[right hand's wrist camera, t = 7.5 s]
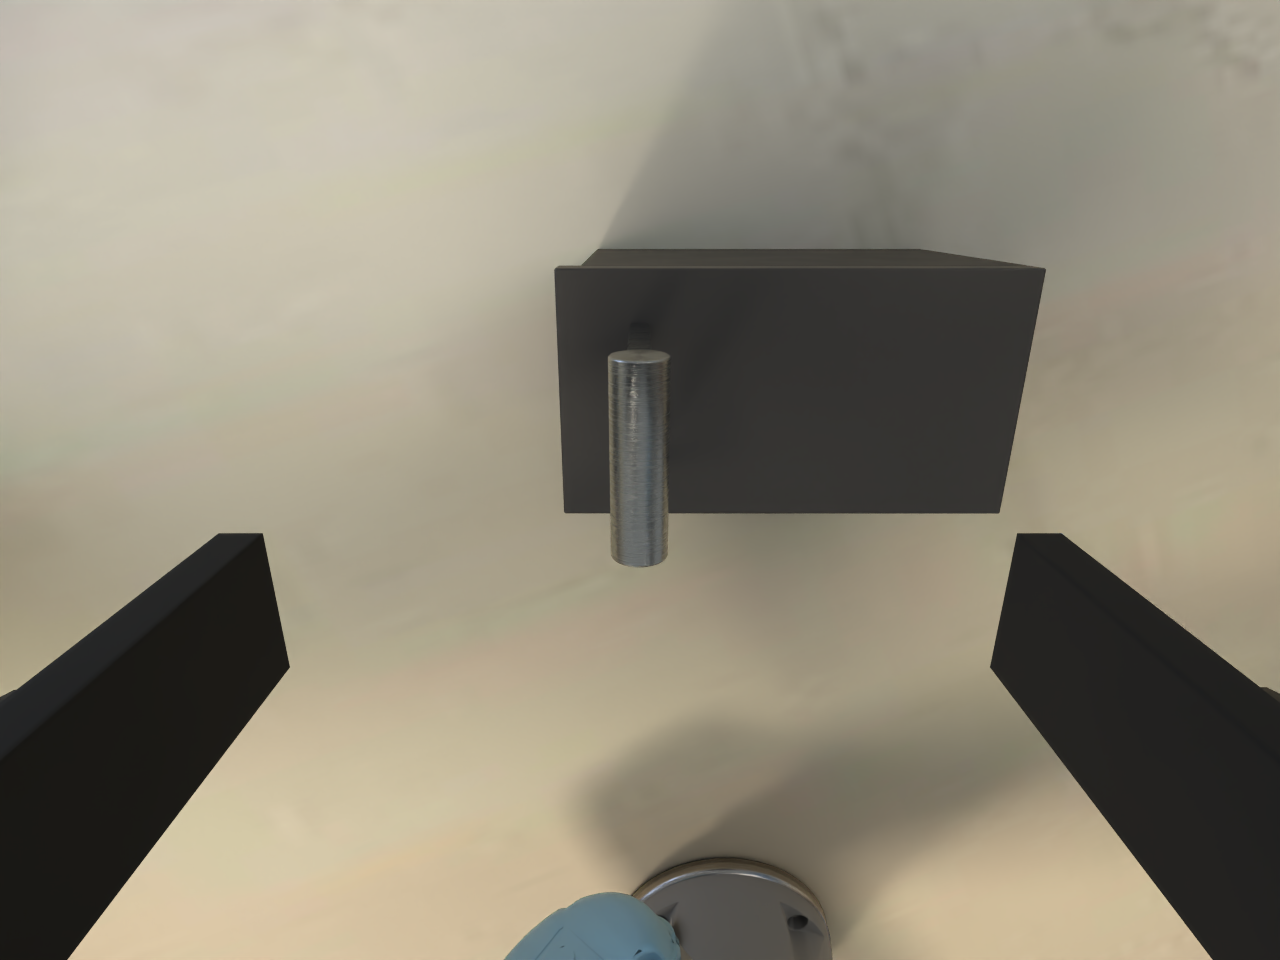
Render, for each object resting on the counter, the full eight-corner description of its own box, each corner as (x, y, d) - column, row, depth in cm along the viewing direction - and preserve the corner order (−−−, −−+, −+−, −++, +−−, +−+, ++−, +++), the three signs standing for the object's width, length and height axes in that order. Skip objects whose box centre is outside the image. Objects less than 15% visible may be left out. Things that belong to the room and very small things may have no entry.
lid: (567, 502, 29) (537, 619, 21) (557, 265, 26) (518, 293, 18) (986, 502, 29) (1123, 619, 21) (1029, 265, 26) (1213, 293, 17)
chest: (600, 426, 39) (586, 501, 29) (597, 249, 36) (579, 265, 26) (897, 426, 39) (985, 501, 29) (920, 249, 36) (1028, 265, 26)
